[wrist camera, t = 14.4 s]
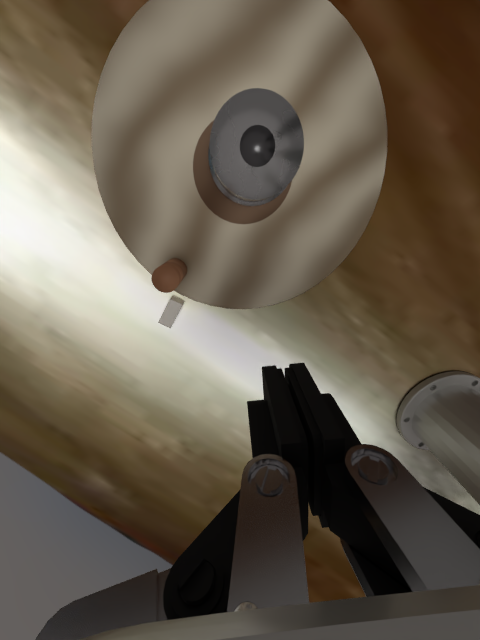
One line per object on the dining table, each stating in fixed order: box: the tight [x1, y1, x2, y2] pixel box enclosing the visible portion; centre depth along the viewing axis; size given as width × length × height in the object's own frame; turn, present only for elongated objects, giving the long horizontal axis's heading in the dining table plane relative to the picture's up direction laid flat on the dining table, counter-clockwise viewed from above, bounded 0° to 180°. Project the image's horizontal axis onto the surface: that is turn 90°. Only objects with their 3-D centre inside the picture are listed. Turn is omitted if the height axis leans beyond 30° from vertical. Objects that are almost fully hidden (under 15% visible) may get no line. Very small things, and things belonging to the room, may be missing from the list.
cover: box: [208, 88, 304, 206], centre depth 21 cm, size 8×8×4 cm
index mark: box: [158, 296, 184, 328], centre depth 28 cm, size 3×1×2 cm, turn 150°
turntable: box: [92, 0, 387, 309], centre depth 22 cm, size 26×26×6 cm
